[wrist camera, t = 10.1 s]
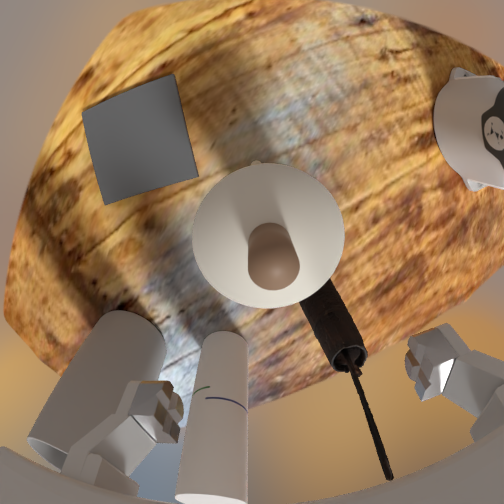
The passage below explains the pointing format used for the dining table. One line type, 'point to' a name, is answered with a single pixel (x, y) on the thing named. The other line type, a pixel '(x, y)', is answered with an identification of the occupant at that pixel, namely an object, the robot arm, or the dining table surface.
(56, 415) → the cylinder vase
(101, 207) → the dining table surface
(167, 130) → the mat
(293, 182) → the lid
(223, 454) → the cylindrical container
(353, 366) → the butter churn
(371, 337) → the dining table surface
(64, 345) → the dining table surface
